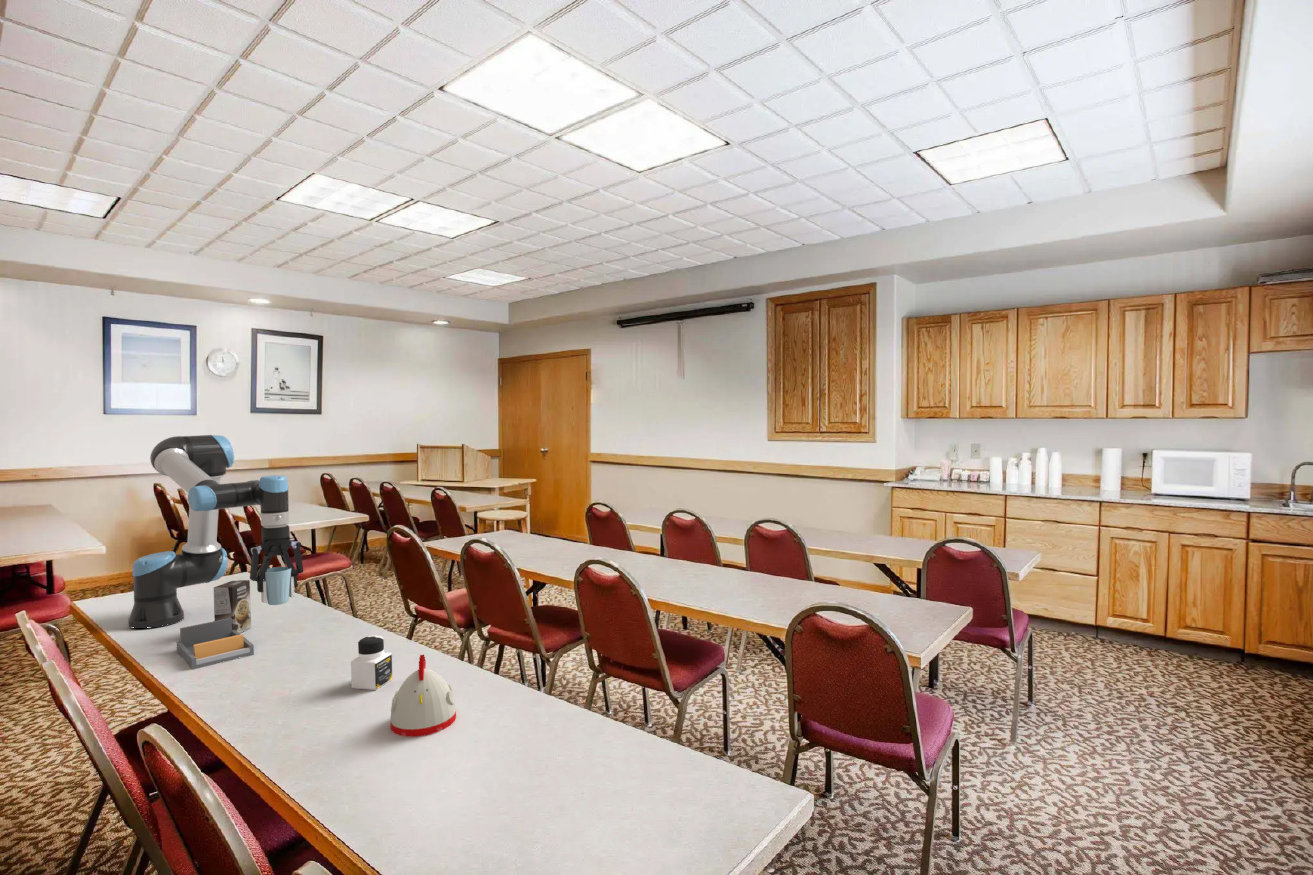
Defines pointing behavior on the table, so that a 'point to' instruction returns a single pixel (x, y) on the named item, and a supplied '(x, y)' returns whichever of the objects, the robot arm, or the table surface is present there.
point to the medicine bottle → (371, 664)
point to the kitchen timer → (422, 704)
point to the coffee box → (233, 604)
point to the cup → (277, 585)
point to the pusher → (218, 646)
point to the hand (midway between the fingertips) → (278, 599)
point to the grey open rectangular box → (206, 634)
